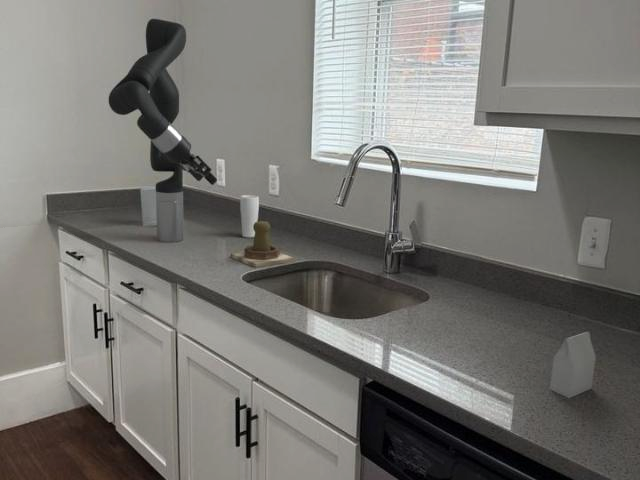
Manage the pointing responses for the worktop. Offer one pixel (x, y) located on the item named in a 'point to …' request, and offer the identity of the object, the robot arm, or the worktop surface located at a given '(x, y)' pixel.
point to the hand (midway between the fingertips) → (207, 180)
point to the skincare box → (148, 206)
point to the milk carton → (573, 366)
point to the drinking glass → (249, 214)
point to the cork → (261, 236)
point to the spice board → (262, 262)
